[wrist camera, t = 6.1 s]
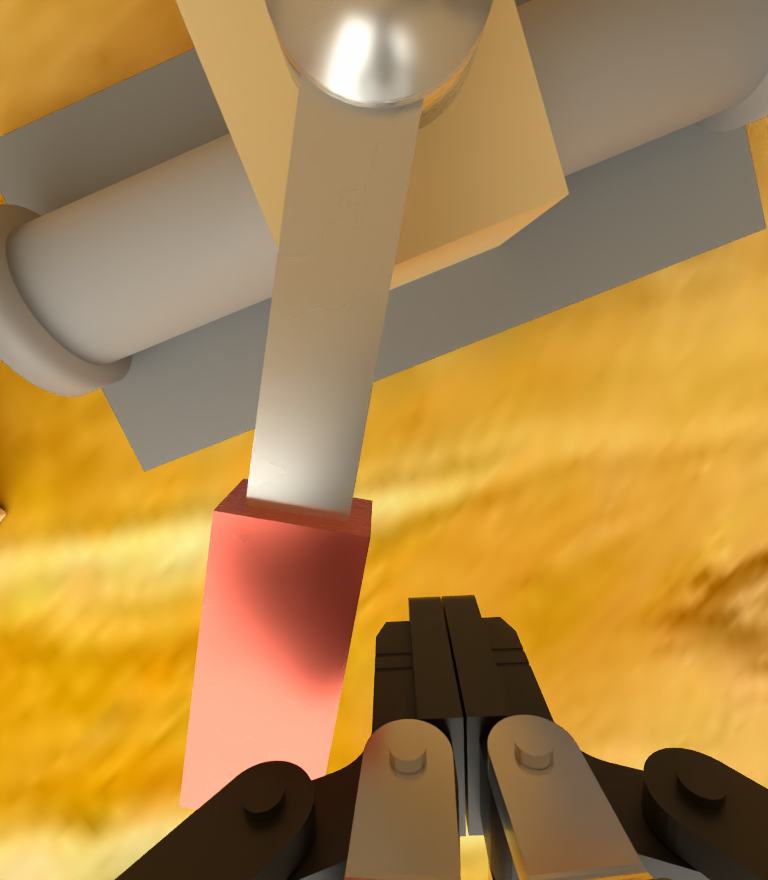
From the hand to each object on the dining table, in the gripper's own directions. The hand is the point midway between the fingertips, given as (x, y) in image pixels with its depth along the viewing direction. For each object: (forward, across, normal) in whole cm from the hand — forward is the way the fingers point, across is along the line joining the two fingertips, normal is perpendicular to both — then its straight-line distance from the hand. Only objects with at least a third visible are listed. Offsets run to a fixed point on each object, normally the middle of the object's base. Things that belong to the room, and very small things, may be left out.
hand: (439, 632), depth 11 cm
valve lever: (0, +2, -5) cm, 6 cm away
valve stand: (+10, +1, -11) cm, 15 cm away
